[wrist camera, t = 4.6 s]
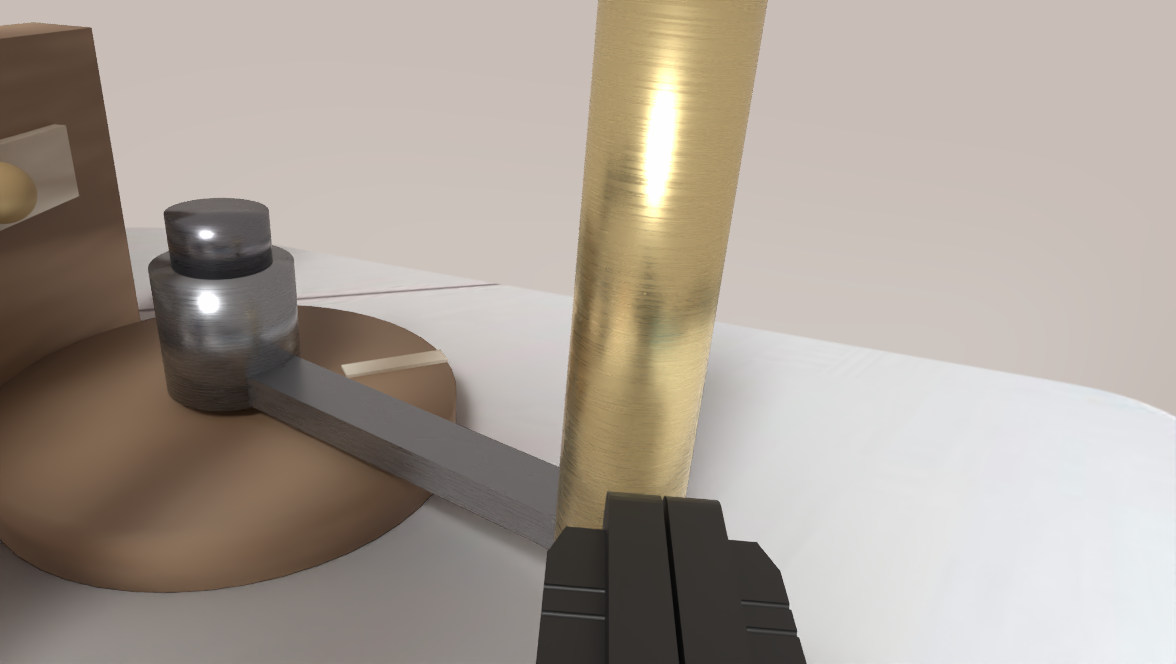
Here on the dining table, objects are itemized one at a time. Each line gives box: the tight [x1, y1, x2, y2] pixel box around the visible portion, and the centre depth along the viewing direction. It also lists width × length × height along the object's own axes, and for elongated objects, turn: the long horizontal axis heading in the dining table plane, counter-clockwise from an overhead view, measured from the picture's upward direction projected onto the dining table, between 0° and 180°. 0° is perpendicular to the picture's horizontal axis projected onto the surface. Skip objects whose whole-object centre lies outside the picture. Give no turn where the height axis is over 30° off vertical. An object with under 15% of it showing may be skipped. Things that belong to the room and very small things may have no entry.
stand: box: [0, 23, 456, 593], centre depth 24 cm, size 16×14×12 cm
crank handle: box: [148, 0, 768, 549], centre depth 20 cm, size 18×4×15 cm, turn 59°
